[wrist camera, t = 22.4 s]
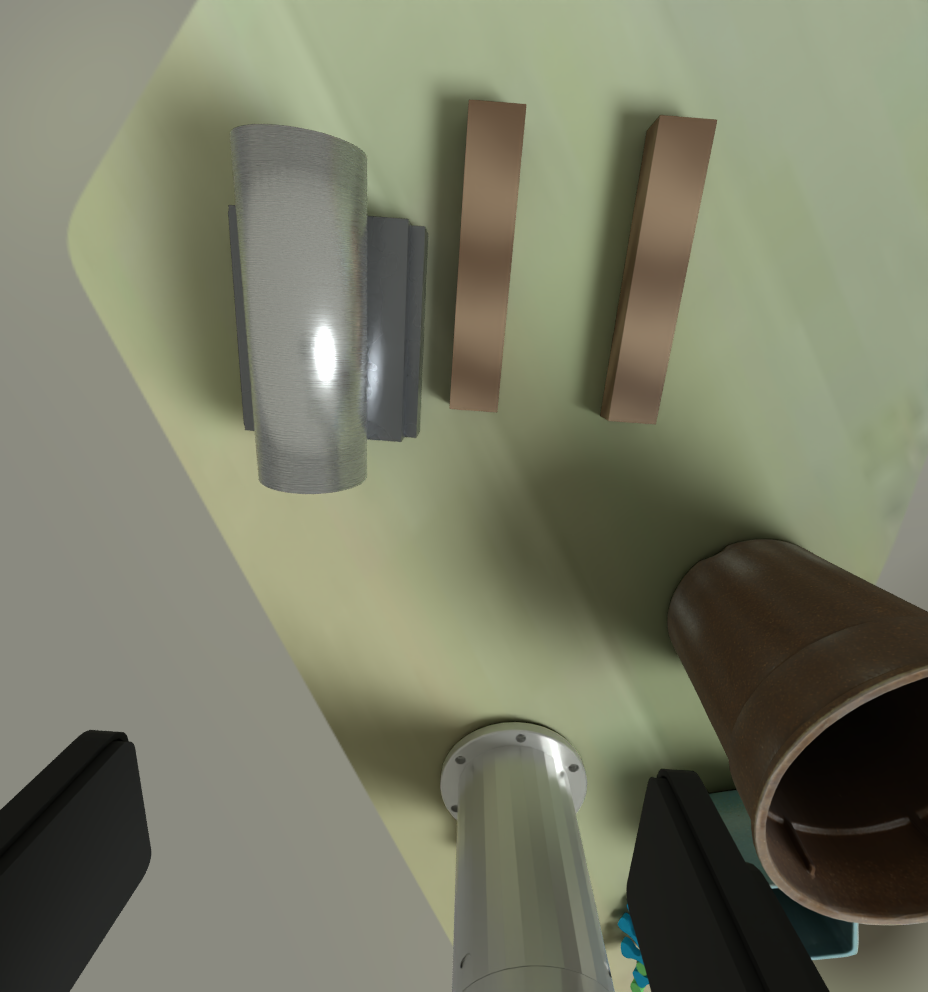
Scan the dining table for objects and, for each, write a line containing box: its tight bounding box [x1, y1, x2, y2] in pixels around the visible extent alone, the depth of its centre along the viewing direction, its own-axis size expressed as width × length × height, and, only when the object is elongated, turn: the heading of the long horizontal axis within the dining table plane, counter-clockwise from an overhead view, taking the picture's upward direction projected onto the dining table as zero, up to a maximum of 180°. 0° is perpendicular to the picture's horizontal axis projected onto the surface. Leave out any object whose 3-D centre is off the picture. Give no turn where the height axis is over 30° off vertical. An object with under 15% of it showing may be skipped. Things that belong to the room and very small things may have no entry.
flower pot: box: [709, 790, 858, 960], centre depth 38 cm, size 9×9×9 cm
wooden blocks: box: [449, 100, 717, 424], centre depth 28 cm, size 16×13×2 cm
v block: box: [228, 205, 428, 442], centre depth 29 cm, size 12×11×4 cm
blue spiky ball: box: [618, 903, 649, 992], centre depth 45 cm, size 11×6×10 cm
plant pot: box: [667, 539, 928, 925], centre depth 29 cm, size 16×16×16 cm
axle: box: [230, 124, 367, 494], centre depth 25 cm, size 16×6×6 cm, turn 176°
